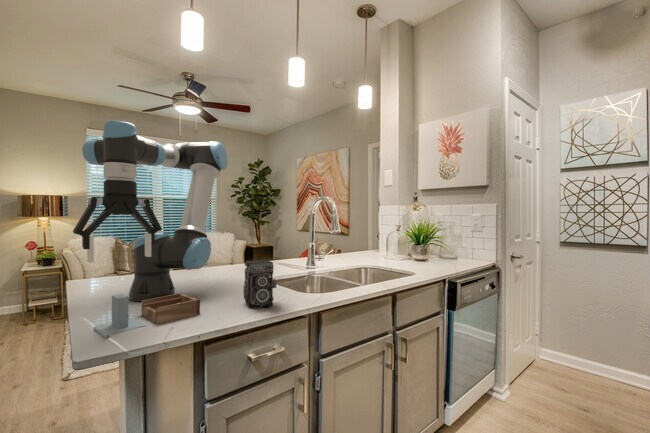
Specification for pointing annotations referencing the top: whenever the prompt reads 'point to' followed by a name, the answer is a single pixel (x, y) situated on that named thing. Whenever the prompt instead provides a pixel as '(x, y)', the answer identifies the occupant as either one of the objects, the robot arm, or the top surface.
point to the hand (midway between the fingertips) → (121, 259)
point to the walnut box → (170, 308)
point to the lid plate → (113, 330)
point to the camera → (259, 283)
